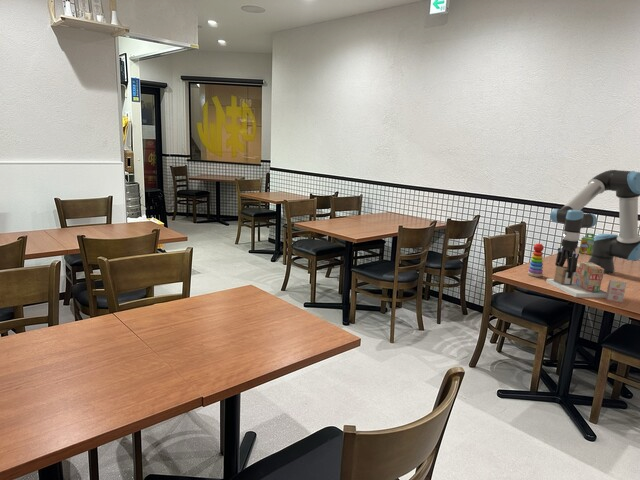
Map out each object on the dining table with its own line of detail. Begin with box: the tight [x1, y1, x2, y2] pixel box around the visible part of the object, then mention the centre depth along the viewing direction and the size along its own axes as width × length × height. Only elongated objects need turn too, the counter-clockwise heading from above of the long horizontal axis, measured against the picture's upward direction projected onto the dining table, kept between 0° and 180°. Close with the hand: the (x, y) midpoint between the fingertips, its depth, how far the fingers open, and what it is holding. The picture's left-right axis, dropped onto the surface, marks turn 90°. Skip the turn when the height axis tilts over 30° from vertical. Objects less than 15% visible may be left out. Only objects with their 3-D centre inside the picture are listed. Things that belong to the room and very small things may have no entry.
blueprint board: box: [545, 278, 607, 299], centre depth 232 cm, size 18×24×2 cm
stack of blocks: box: [572, 261, 605, 292], centre depth 232 cm, size 21×6×12 cm, turn 174°
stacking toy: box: [527, 243, 544, 278], centre depth 254 cm, size 8×8×19 cm
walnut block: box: [553, 265, 574, 284], centre depth 236 cm, size 6×6×8 cm
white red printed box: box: [605, 279, 627, 304], centre depth 217 cm, size 4×7×10 cm, turn 62°
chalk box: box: [578, 232, 595, 256], centre depth 322 cm, size 9×9×15 cm
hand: (562, 281), depth 236 cm, fingers closed on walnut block, 6 cm apart
